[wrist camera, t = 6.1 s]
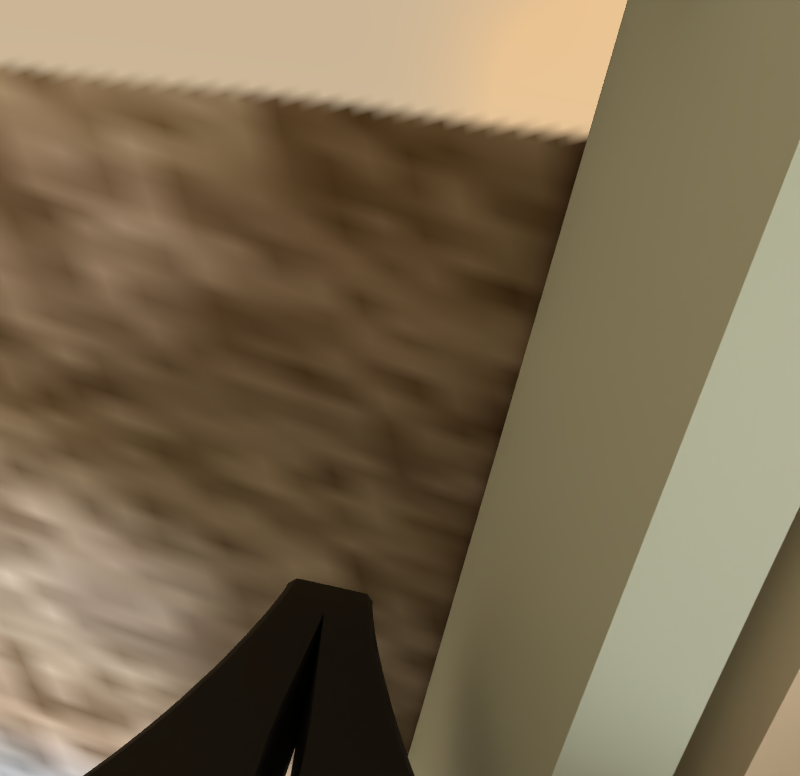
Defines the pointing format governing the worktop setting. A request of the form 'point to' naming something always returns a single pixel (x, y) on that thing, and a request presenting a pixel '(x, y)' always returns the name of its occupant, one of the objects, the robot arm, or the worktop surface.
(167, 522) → the worktop surface
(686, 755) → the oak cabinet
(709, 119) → the cabinet door
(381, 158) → the worktop surface
